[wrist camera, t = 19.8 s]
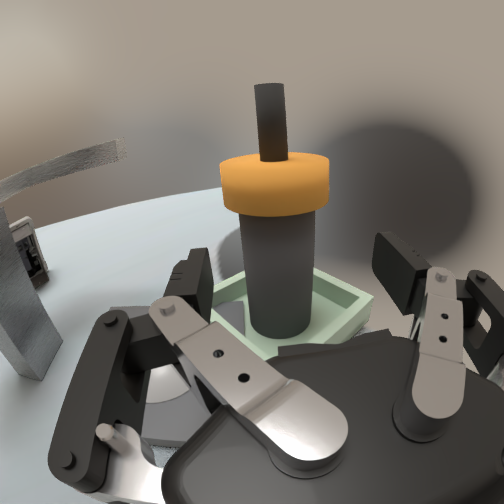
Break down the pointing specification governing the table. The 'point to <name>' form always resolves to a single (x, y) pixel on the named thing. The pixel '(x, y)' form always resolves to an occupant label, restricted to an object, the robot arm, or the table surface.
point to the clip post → (22, 314)
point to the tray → (322, 313)
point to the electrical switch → (29, 250)
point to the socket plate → (176, 391)
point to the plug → (276, 219)
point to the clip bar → (63, 166)
